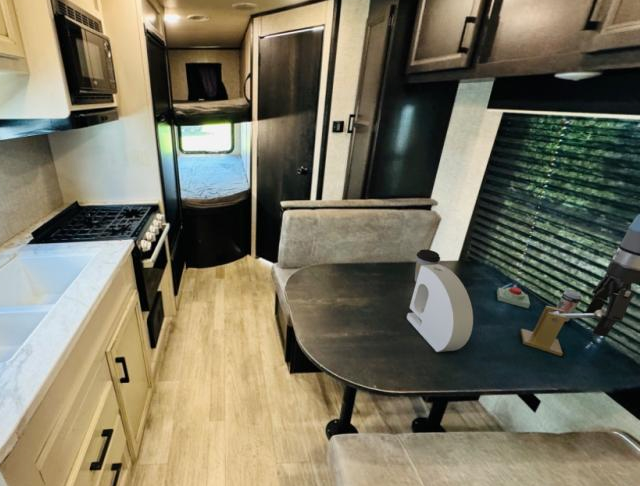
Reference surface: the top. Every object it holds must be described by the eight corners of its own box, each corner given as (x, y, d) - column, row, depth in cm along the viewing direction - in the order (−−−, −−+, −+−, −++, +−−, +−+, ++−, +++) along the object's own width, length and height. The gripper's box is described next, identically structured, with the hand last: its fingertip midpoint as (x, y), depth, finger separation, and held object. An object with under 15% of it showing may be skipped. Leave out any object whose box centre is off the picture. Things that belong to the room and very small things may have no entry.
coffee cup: (431, 278, 149) (440, 250, 143) (433, 288, 141) (442, 260, 135) (409, 274, 153) (417, 247, 147) (410, 284, 145) (418, 255, 139)
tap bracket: (556, 341, 111) (573, 310, 105) (561, 356, 105) (579, 323, 99) (520, 330, 116) (534, 300, 111) (522, 343, 110) (538, 312, 105)
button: (519, 291, 133) (521, 288, 132) (520, 296, 130) (522, 292, 130) (509, 289, 135) (510, 285, 134) (509, 293, 132) (511, 289, 131)
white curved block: (422, 317, 124) (438, 261, 113) (462, 357, 105) (485, 295, 94) (406, 318, 123) (420, 263, 113) (443, 359, 104) (464, 296, 94)
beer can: (548, 314, 125) (561, 289, 120) (561, 314, 125) (574, 289, 120) (558, 322, 121) (572, 296, 116) (571, 322, 120) (586, 297, 115)
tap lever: (610, 317, 99) (608, 307, 99) (613, 323, 97) (611, 313, 96) (548, 317, 108) (546, 308, 108) (550, 323, 106) (548, 313, 105)
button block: (525, 298, 135) (529, 291, 133) (528, 308, 129) (531, 300, 127) (496, 291, 140) (499, 283, 138) (497, 300, 134) (501, 292, 132)
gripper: (600, 247, 102) (570, 303, 111) (625, 277, 85) (587, 340, 94) (634, 253, 98) (600, 310, 107) (667, 286, 81) (623, 351, 90)
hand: (594, 324), depth 101 cm, fingers open, 10 cm apart
